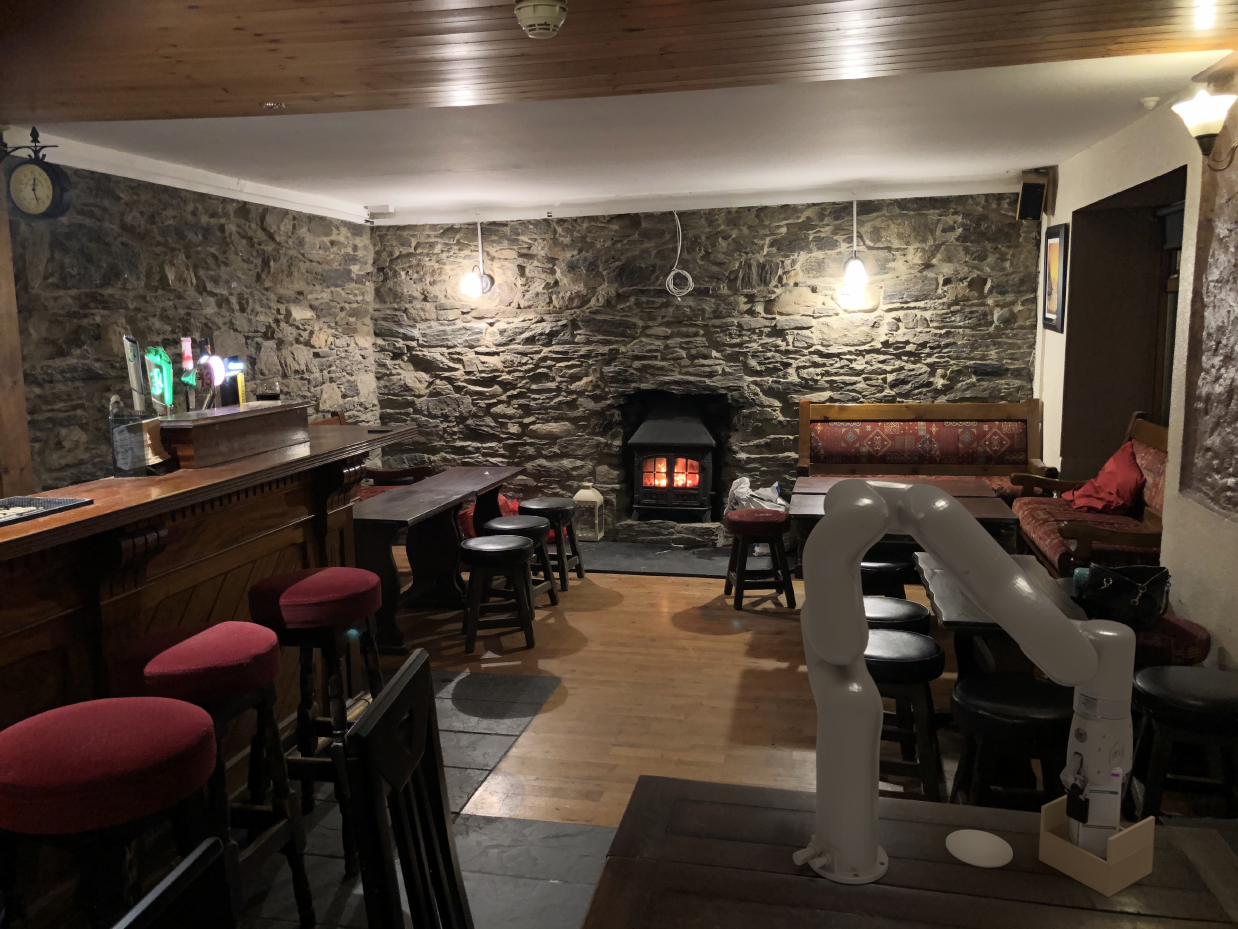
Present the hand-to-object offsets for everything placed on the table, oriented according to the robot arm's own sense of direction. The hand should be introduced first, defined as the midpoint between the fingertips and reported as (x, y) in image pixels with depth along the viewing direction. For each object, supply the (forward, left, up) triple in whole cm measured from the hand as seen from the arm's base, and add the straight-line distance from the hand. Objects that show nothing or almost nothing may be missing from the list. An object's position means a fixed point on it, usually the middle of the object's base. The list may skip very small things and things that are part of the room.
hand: (1093, 811), depth 136 cm
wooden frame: (0, 0, -9) cm, 9 cm away
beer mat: (-11, +12, -9) cm, 19 cm away
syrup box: (0, 0, -6) cm, 6 cm away
